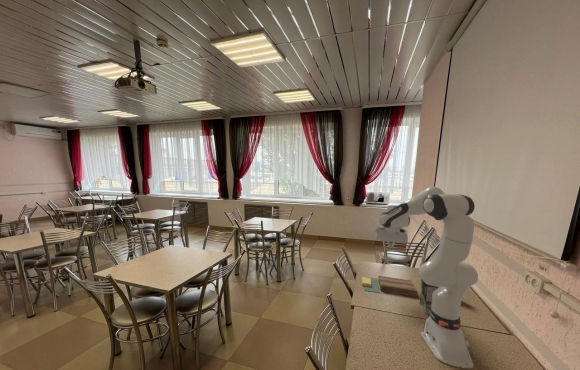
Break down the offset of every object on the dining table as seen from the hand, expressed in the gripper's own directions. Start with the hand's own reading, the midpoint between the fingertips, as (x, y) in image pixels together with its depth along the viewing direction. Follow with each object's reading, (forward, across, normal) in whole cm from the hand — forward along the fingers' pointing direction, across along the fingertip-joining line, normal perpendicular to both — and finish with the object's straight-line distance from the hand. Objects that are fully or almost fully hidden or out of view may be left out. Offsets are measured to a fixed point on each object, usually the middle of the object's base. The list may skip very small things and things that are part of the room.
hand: (390, 247), depth 152 cm
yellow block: (+26, -15, 0) cm, 30 cm away
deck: (+29, +5, 0) cm, 29 cm away
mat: (+29, -12, 0) cm, 31 cm away
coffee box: (+29, +19, -19) cm, 39 cm away
